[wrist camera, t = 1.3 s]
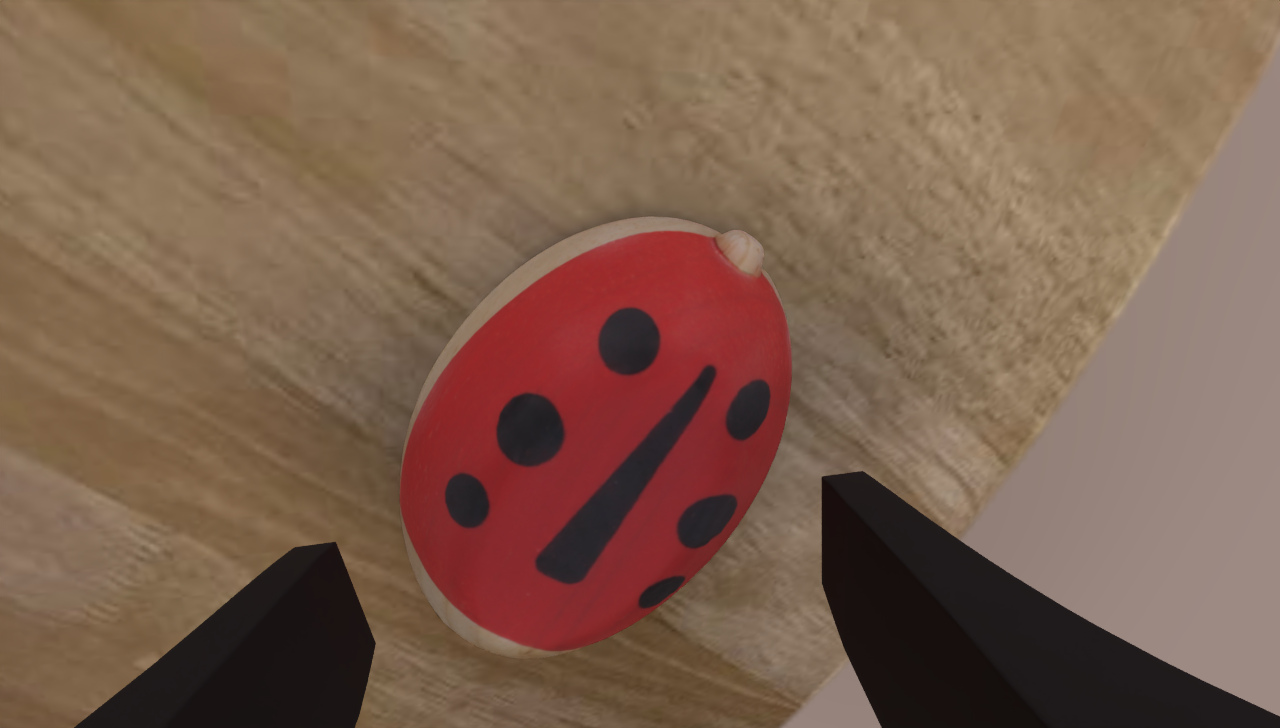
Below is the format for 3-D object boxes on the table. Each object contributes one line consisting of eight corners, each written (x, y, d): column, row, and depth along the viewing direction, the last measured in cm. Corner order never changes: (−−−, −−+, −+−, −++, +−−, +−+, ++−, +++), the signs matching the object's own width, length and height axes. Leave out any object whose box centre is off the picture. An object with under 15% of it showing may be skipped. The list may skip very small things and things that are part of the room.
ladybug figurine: (353, 526, 14) (283, 658, 11) (559, 113, 11) (543, 130, 8) (617, 628, 16) (622, 767, 13) (861, 294, 13) (950, 369, 10)
